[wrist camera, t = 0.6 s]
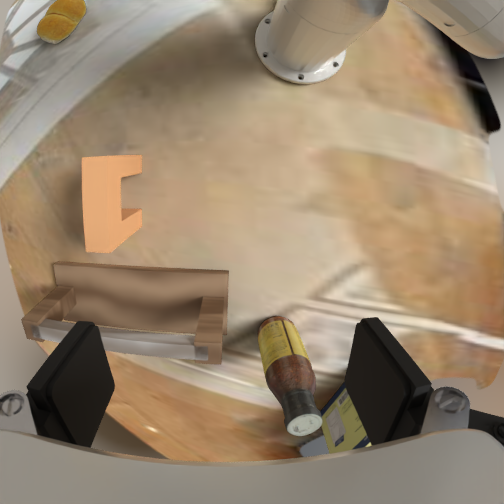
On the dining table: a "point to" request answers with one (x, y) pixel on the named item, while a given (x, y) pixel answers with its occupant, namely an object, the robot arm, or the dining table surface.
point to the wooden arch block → (108, 201)
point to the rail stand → (138, 309)
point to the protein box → (342, 424)
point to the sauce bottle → (289, 374)
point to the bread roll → (61, 20)
